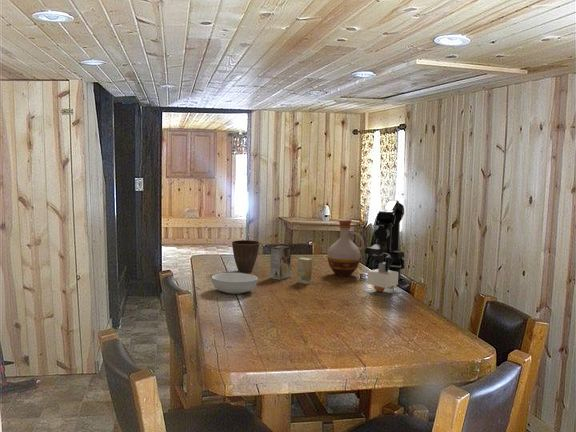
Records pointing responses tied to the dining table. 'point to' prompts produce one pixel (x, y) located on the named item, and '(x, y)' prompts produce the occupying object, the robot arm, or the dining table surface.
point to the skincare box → (304, 270)
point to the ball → (379, 288)
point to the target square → (383, 293)
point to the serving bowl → (234, 282)
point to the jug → (344, 252)
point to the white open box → (382, 277)
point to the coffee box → (280, 262)
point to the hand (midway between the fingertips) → (383, 270)
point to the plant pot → (245, 254)
